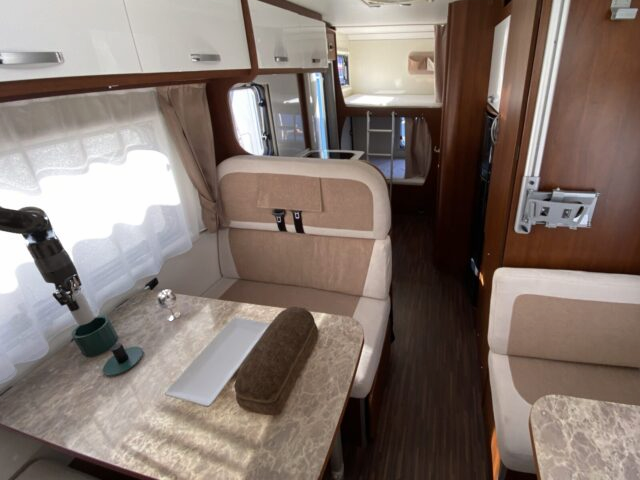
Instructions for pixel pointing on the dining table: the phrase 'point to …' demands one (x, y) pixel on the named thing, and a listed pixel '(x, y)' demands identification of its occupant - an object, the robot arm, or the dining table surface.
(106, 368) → the lid
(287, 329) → the bread
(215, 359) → the tray
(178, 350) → the dining table surface
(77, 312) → the beverage can
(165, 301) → the wineglass
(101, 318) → the pot
